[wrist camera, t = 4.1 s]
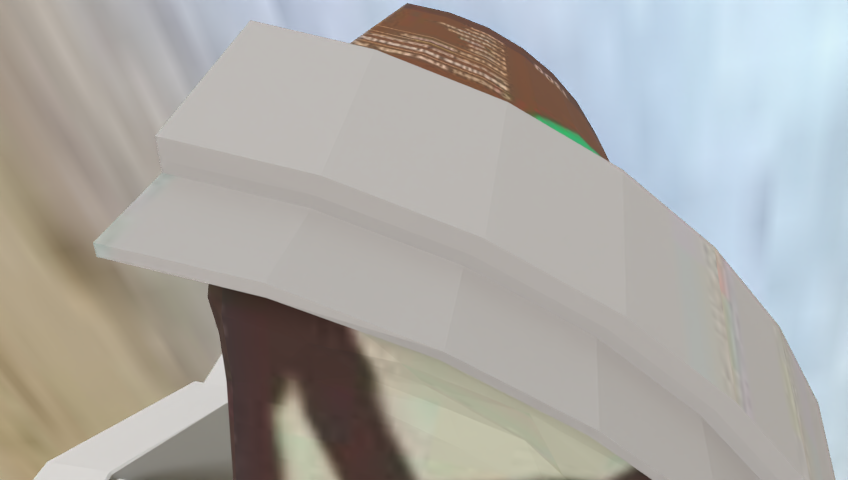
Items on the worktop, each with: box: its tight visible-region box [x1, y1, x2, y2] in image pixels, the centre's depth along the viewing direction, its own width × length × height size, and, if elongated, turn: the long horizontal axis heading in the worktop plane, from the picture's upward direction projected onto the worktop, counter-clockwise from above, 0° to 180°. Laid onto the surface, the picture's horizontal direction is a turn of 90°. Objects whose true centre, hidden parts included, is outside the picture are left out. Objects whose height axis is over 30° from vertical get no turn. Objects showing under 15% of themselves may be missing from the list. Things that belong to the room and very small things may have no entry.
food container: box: [93, 3, 835, 480], centre depth 10 cm, size 12×6×10 cm, turn 173°
